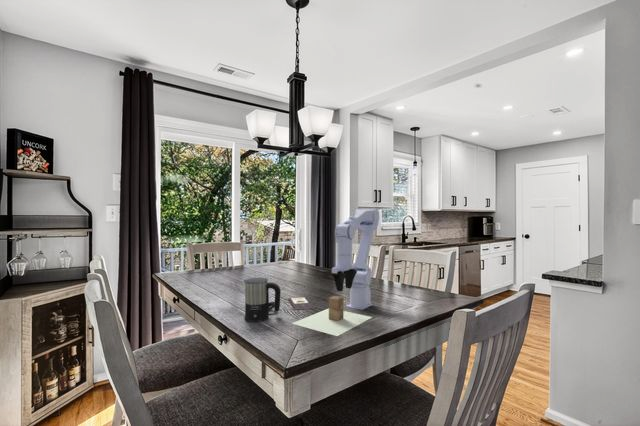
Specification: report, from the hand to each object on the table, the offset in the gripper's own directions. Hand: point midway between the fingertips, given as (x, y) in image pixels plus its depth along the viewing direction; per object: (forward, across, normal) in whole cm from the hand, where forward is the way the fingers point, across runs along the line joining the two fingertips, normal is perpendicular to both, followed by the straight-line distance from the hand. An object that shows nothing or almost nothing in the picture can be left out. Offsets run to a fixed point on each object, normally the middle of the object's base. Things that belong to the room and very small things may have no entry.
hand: (344, 289), depth 128 cm
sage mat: (+11, -7, 0) cm, 13 cm away
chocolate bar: (+11, +3, +24) cm, 27 cm away
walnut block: (+10, -5, 0) cm, 11 cm away
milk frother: (+11, -18, +27) cm, 35 cm away
